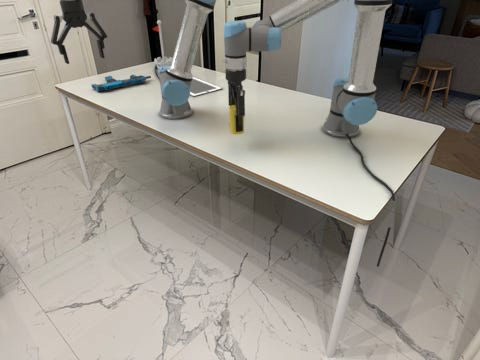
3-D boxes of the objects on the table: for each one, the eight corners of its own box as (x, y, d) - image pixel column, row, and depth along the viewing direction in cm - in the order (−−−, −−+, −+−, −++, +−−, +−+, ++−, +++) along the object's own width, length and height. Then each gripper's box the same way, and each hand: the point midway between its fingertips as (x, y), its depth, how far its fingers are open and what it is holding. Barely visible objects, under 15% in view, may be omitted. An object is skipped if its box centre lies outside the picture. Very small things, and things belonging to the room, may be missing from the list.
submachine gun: (137, 69, 223) (155, 75, 206) (138, 75, 225) (156, 81, 208) (84, 79, 204) (99, 87, 188) (85, 85, 206) (101, 94, 190)
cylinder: (245, 134, 133) (244, 109, 128) (230, 134, 132) (229, 110, 127) (243, 128, 138) (242, 104, 132) (229, 128, 137) (228, 105, 132)
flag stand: (171, 63, 246) (167, 18, 230) (175, 68, 236) (170, 21, 220) (153, 65, 242) (147, 19, 226) (156, 70, 232) (150, 22, 216)
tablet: (164, 83, 207) (164, 82, 207) (191, 76, 218) (191, 76, 218) (193, 96, 187) (193, 95, 187) (222, 88, 198) (222, 88, 198)
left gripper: (35, 2, 112) (54, 67, 124) (108, -3, 125) (119, 56, 137) (29, 0, 117) (48, 63, 128) (100, -4, 130) (112, 53, 142)
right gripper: (218, 63, 128) (221, 120, 141) (233, 76, 113) (234, 139, 126) (237, 61, 130) (238, 117, 143) (254, 74, 115) (253, 136, 128)
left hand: (85, 60), depth 133 cm, fingers open, 13 cm apart
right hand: (236, 127), depth 134 cm, fingers closed on cylinder, 6 cm apart
